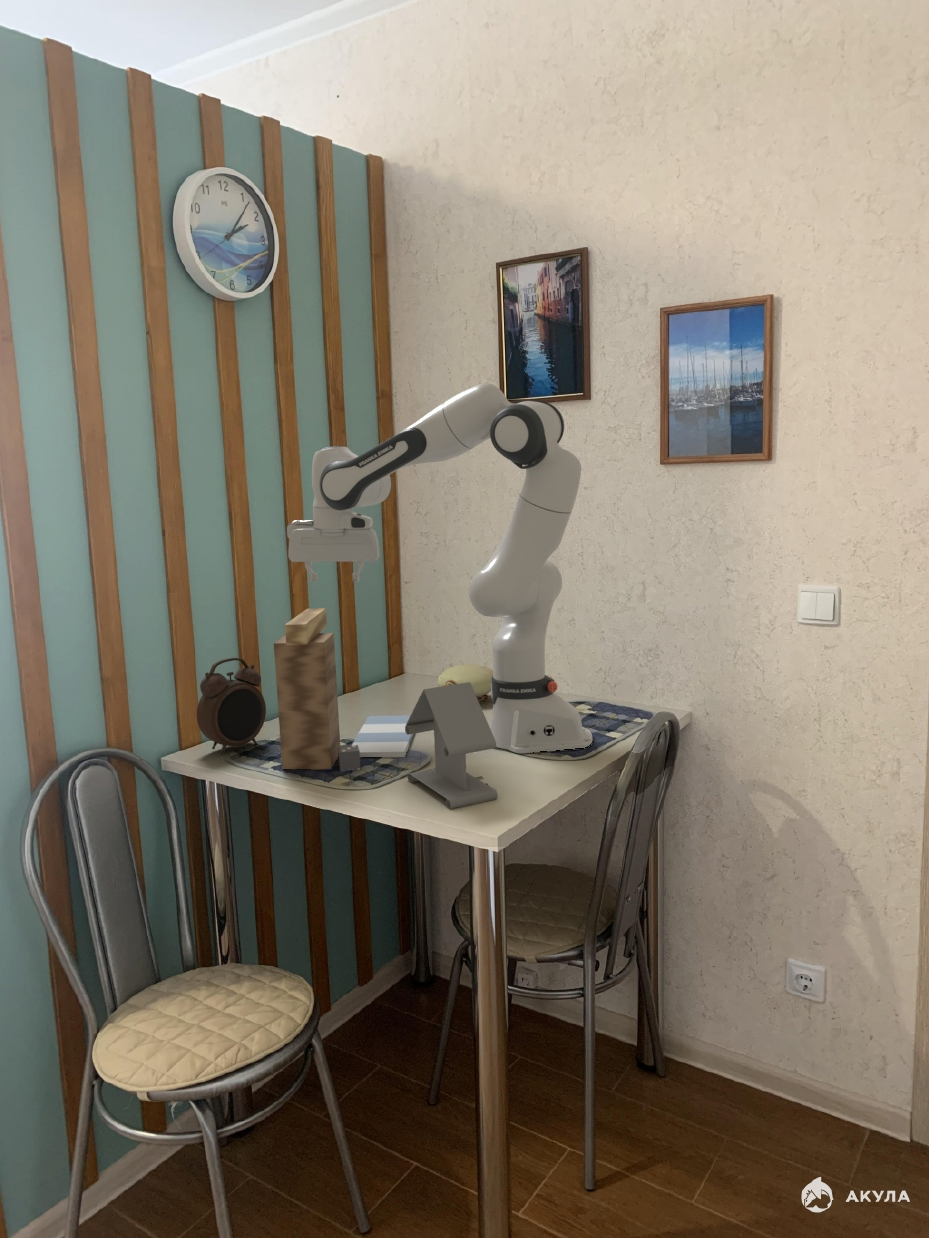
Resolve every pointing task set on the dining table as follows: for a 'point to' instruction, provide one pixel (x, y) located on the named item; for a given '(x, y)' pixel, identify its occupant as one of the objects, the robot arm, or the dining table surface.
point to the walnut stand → (307, 703)
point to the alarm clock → (231, 706)
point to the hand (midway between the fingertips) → (335, 581)
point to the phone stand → (453, 742)
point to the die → (349, 757)
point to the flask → (469, 678)
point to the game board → (384, 737)
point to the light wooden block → (305, 626)
